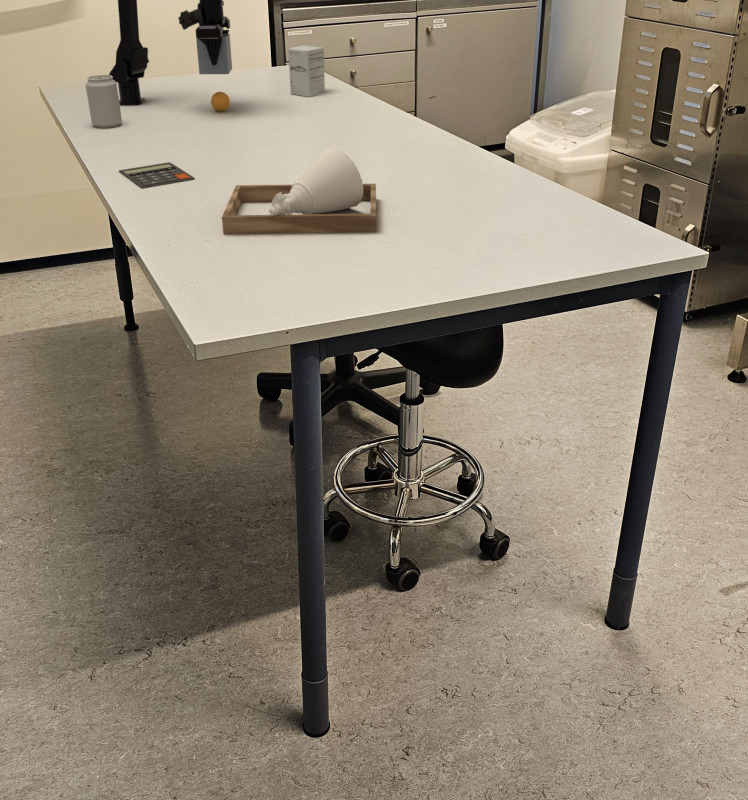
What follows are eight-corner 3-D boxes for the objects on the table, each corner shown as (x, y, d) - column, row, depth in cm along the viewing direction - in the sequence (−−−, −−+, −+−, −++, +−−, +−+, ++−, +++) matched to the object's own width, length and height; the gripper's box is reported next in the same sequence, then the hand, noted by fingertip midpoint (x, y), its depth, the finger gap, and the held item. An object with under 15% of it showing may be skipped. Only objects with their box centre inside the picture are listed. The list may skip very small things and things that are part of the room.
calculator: (141, 186, 187) (118, 169, 198) (141, 191, 187) (118, 173, 198) (195, 177, 192) (169, 161, 203) (195, 181, 192) (170, 165, 204)
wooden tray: (237, 200, 179) (235, 185, 178) (376, 198, 179) (375, 183, 178) (223, 233, 163) (221, 217, 161) (376, 231, 163) (376, 215, 161)
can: (118, 128, 232) (110, 79, 226) (88, 128, 232) (80, 79, 226) (125, 121, 238) (118, 73, 232) (97, 121, 238) (89, 73, 233)
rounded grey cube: (204, 69, 246) (200, 33, 241) (232, 68, 246) (229, 33, 241) (199, 74, 239) (196, 38, 235) (228, 74, 239) (225, 38, 235)
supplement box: (289, 94, 265) (287, 48, 259) (306, 90, 270) (304, 44, 264) (309, 97, 261) (307, 50, 255) (326, 93, 266) (324, 46, 260)
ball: (235, 100, 248) (222, 113, 250) (221, 86, 247) (208, 99, 248) (232, 104, 244) (219, 117, 246) (218, 89, 242) (205, 103, 244)
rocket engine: (258, 174, 158) (335, 136, 166) (239, 205, 168) (313, 167, 176) (297, 230, 158) (372, 188, 167) (276, 257, 168) (347, 217, 177)
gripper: (185, -6, 242) (192, 56, 249) (171, 2, 225) (179, 69, 233) (227, -7, 242) (233, 56, 249) (217, 2, 225) (223, 68, 233)
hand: (216, 62), depth 241 cm, fingers closed on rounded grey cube, 7 cm apart
